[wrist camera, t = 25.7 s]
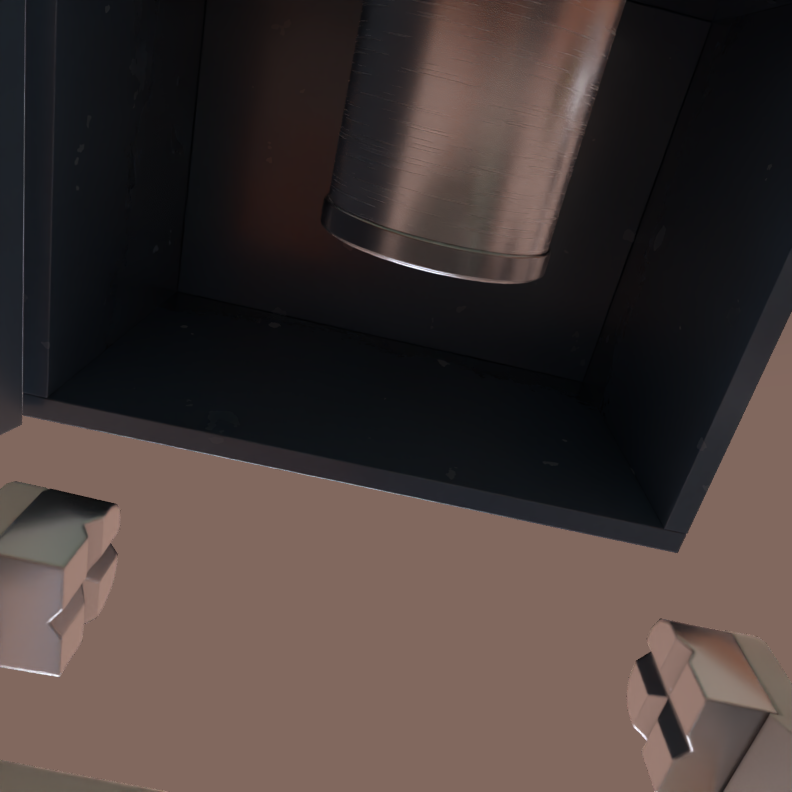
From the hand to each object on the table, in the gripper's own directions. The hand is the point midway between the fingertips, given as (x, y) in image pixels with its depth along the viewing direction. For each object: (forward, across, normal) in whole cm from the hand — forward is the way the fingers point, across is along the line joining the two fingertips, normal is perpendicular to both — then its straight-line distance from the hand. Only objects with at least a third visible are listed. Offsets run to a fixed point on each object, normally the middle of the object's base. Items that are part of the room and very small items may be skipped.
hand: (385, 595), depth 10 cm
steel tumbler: (+11, 0, -15) cm, 19 cm away
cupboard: (+31, 0, -16) cm, 35 cm away
